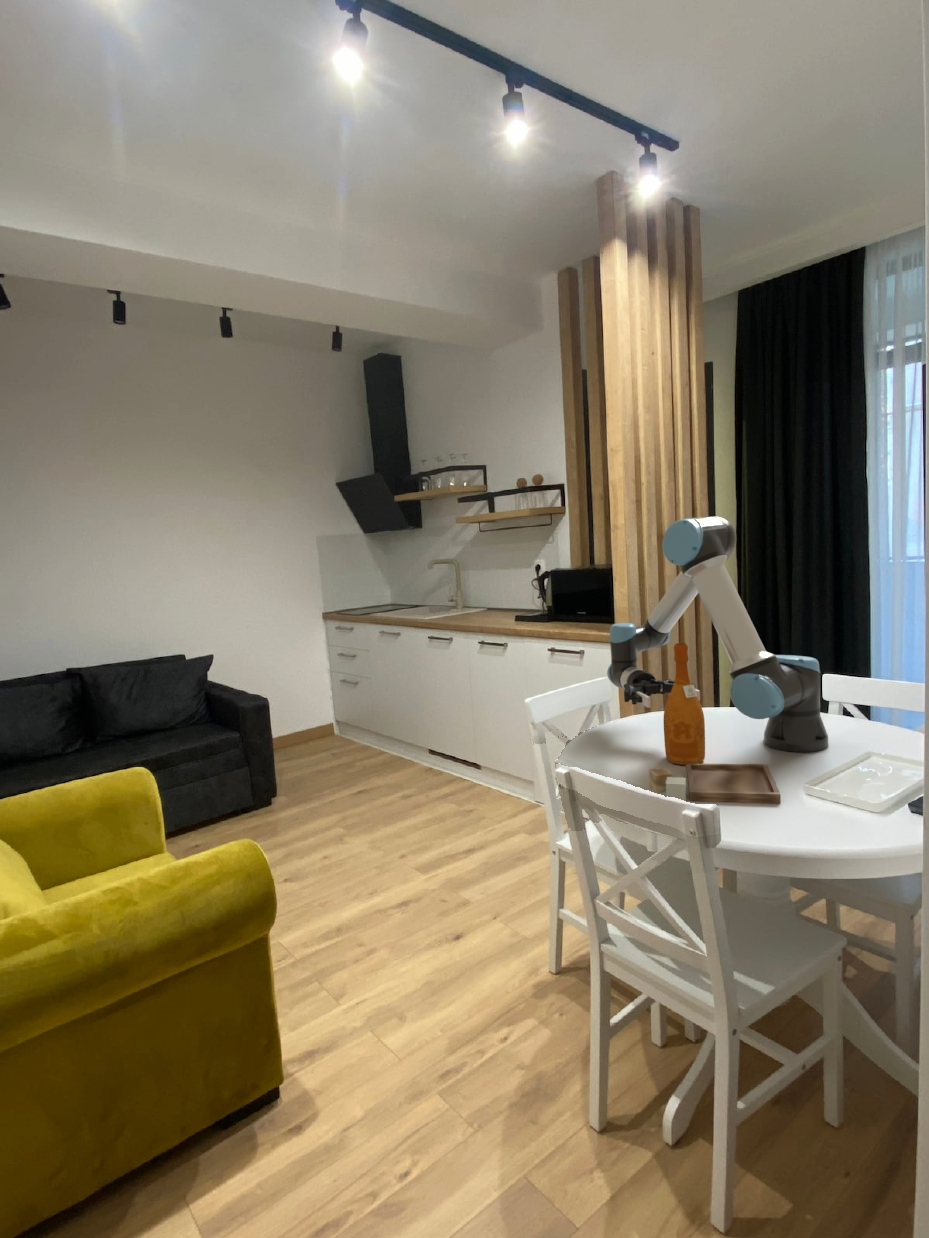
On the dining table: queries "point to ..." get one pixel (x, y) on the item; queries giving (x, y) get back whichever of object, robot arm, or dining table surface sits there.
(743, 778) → the tray
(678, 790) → the pale grey cube
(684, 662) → the wine bottle
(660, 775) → the oak block
